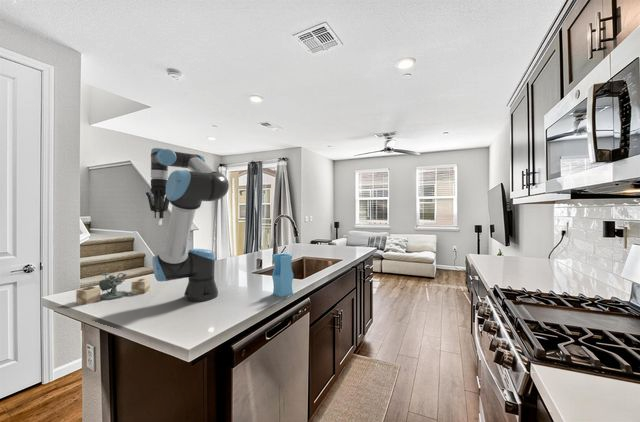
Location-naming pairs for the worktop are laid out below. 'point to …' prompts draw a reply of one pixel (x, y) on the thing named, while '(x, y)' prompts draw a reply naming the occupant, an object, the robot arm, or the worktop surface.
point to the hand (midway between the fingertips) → (158, 224)
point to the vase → (282, 275)
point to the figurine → (109, 284)
